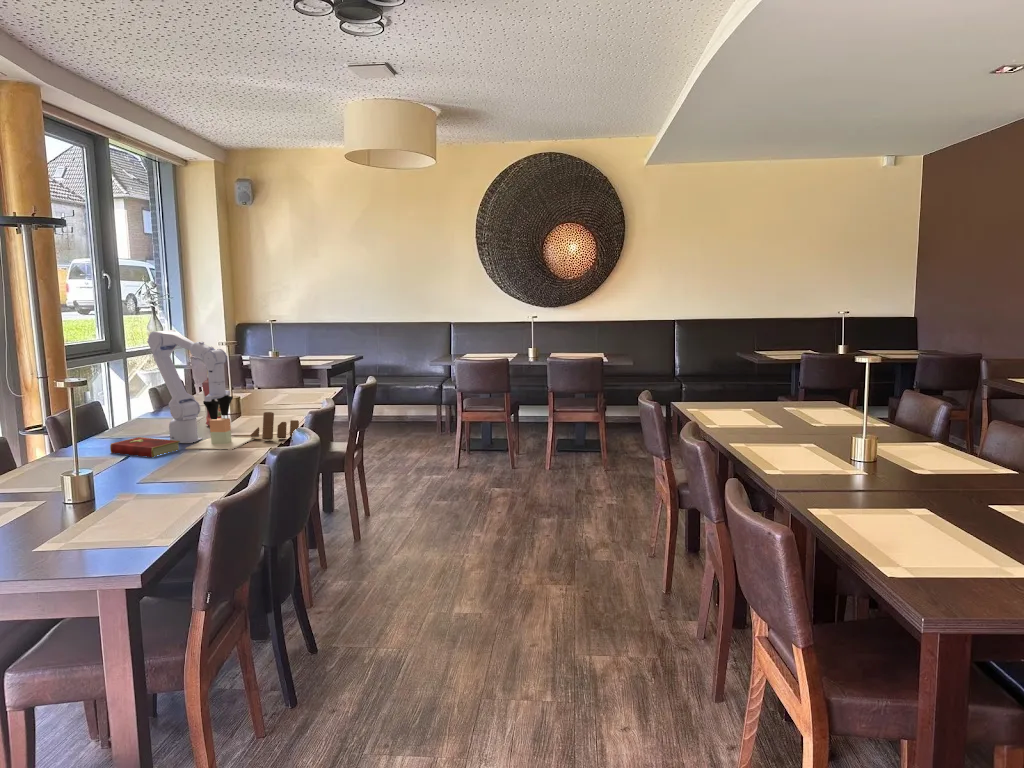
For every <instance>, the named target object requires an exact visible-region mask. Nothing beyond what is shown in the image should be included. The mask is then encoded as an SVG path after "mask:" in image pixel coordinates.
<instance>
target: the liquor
mask: <svg viewBox="0 0 1024 768" xmlns="http://www.w3.org/2000/svg"><path fill="white" fill-rule="evenodd" d="M206 370H207V369H206ZM206 375H207V377H206V380H203V381H202V383H201V386H202V394H203V401H205V396H207V395H208V394H209V380H208V370H207V374H206ZM215 400H216V401H218V400H217V399H215ZM204 410H205V417H206V419H205V420H206V422H205V425H207V426H208V427H210V421H209V420H212V419H211V417H210V415H209V412H208V410H207V408H206V406H205V405H204ZM217 418H222V415H221V410H220V405H219V406H218V417H217Z"/></svg>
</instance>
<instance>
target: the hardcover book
mask: <svg viewBox="0 0 1024 768" xmlns="http://www.w3.org/2000/svg"><path fill="white" fill-rule="evenodd" d="M178 442H180V441H176V440H170V439H163V438H154V437H144V436H137V437H133V438H129V439H124V440H120V441H117V442H116V441H115V442H112V443H110V445H109V446H110V447H109V450H110V453H111V454H116V453H120V454H119V455H125V454H129V455H128V456H134V455H138V456H137V457H143V456H147V457H146V458H152V457H154V456H156V457H158V456H157V455H160V454H164V453H167V454H169V453H168V452H171V453H173V452H172V451H175V452H177V451H176V450H178V451H180V446H179V444H180V443H178ZM164 455H165V454H164ZM160 456H161V455H160ZM154 458H155V457H154Z"/></svg>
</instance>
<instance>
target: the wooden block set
mask: <svg viewBox="0 0 1024 768" xmlns="http://www.w3.org/2000/svg"><path fill="white" fill-rule="evenodd" d="M274 417H275V413H274V412H272V411H266V412H263V417H262V437H261V438H262V440H264V441H265V440H266V441H269V440H270V441H271V440H273V439H274V423H275V420H274ZM289 423H290V424H289V425H290V427H289V437H291V436H292V433H293V431H294V430H295V429H297V428H298V427H300V422H299V420H296V419H295V420H293V419H291V420H290V421H289ZM287 425H288V424H287V422H286V421H282V422H280V423H278V424H277V434H276V435H277V436H276V437H277V439H287ZM249 437H250V438H258V437H260V427H259V426H258V427H257V428H256V429H255V430H254V431H253V432H251V434H250V435H249Z"/></svg>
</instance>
